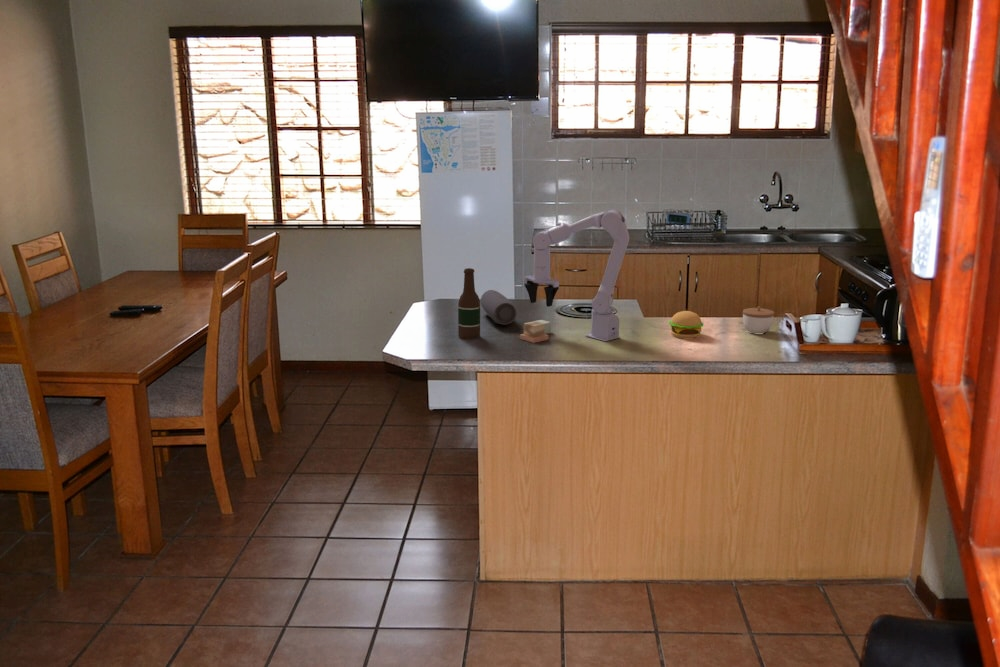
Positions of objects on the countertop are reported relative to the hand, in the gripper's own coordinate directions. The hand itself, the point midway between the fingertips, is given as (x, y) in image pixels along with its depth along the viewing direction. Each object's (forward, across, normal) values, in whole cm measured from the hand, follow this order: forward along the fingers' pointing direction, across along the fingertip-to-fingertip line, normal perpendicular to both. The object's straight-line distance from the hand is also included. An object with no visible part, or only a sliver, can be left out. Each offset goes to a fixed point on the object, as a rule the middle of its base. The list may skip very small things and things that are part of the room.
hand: (541, 304), depth 315 cm
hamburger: (+10, -38, -34) cm, 52 cm away
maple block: (+9, -4, +8) cm, 13 cm away
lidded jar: (+10, -54, -56) cm, 78 cm away
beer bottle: (+10, +13, +22) cm, 28 cm away
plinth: (+10, -4, +8) cm, 14 cm away
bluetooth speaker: (+11, +23, -2) cm, 25 cm away
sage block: (+10, 0, 0) cm, 10 cm away
